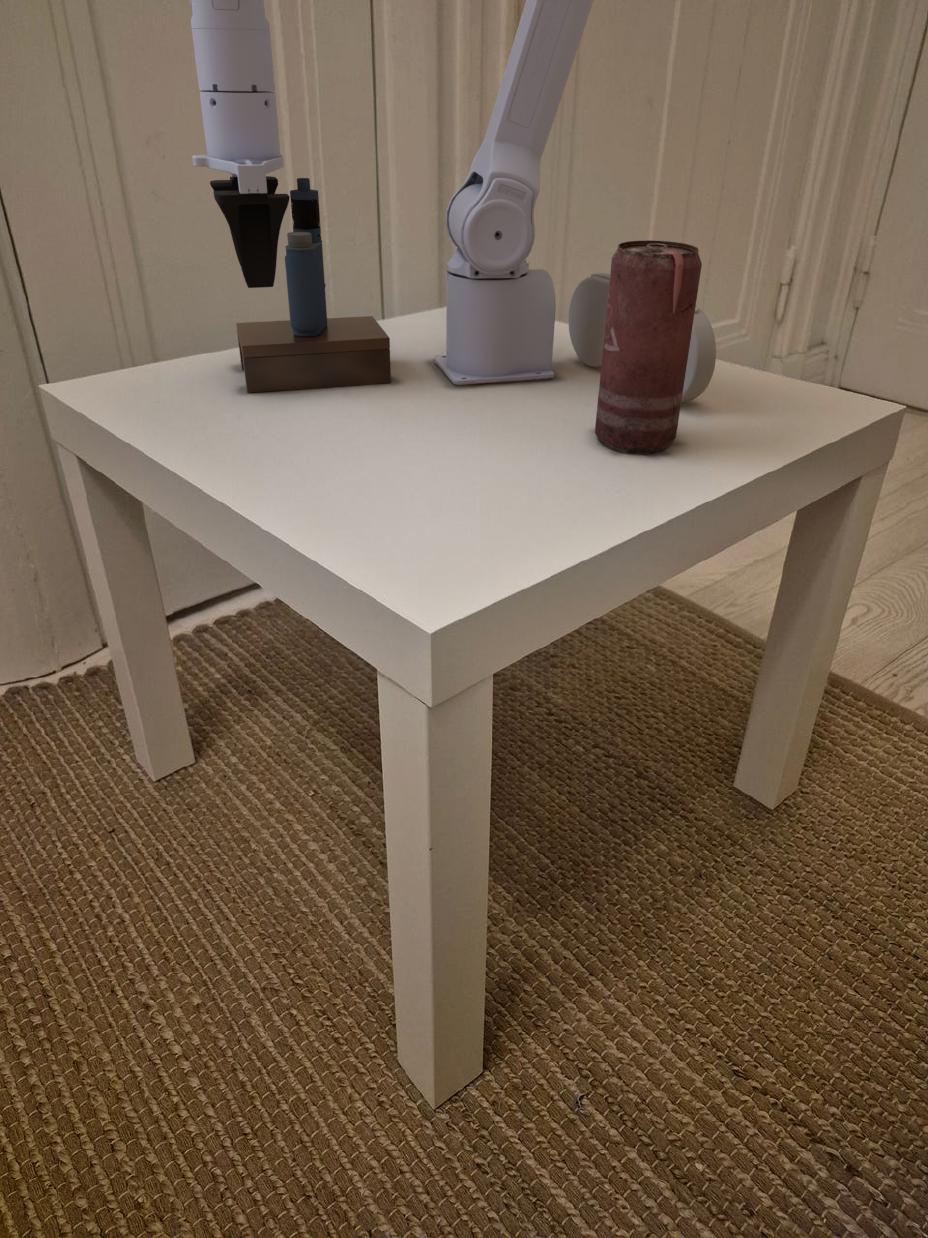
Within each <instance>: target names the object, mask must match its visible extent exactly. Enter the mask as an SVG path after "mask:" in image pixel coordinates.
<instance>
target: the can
mask: <svg viewBox="0 0 928 1238" xmlns="http://www.w3.org/2000/svg"><path fill="white" fill-rule="evenodd" d="M610 262H611V263H610V273H609V274H610V282H609V293H608V303H607V313H606V323H605V333H604V344H603V354H602V364H601V367H600V375H599V385H598V394H597V395H598V396H597V406H596V417H595V426H594V434H595V436H596V438H597V441H598V442H599V443H600V444H601V445H602V446H604V447H605V448H607V449H609V450H612V451H615V452H618V453H624V454H628V455H629V454H631V455H651V454H652V455H653V454H657V453H661V452H664V451H666V450H668V449H669V448H670V446H671V445H672V444H673V443H674V441H675V440H677V435H678V426H679V419H680V414H681V413H680V412H681V407H682V402H681V401H682V394H683V387H684V380H685V374H686V367H687V360H688V354H689V347H690V340H691V334H692V327H693V320H694V313H695V307H696V305H697V300H698V293H699V287H700V279H701V273H702V266H703V263H702V261H701V257H700V255H699V248H698V246H695V245H693V244H688V243H685V242H684V243H683V242H676V241H670V240H669V241H667V240H648V239H647V240H646V239H645V240H630V241H625V242H621V243H619V244H618V245H617V249H616V250H615V252H614V253H613V255H612V257H611V261H610Z"/></svg>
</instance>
